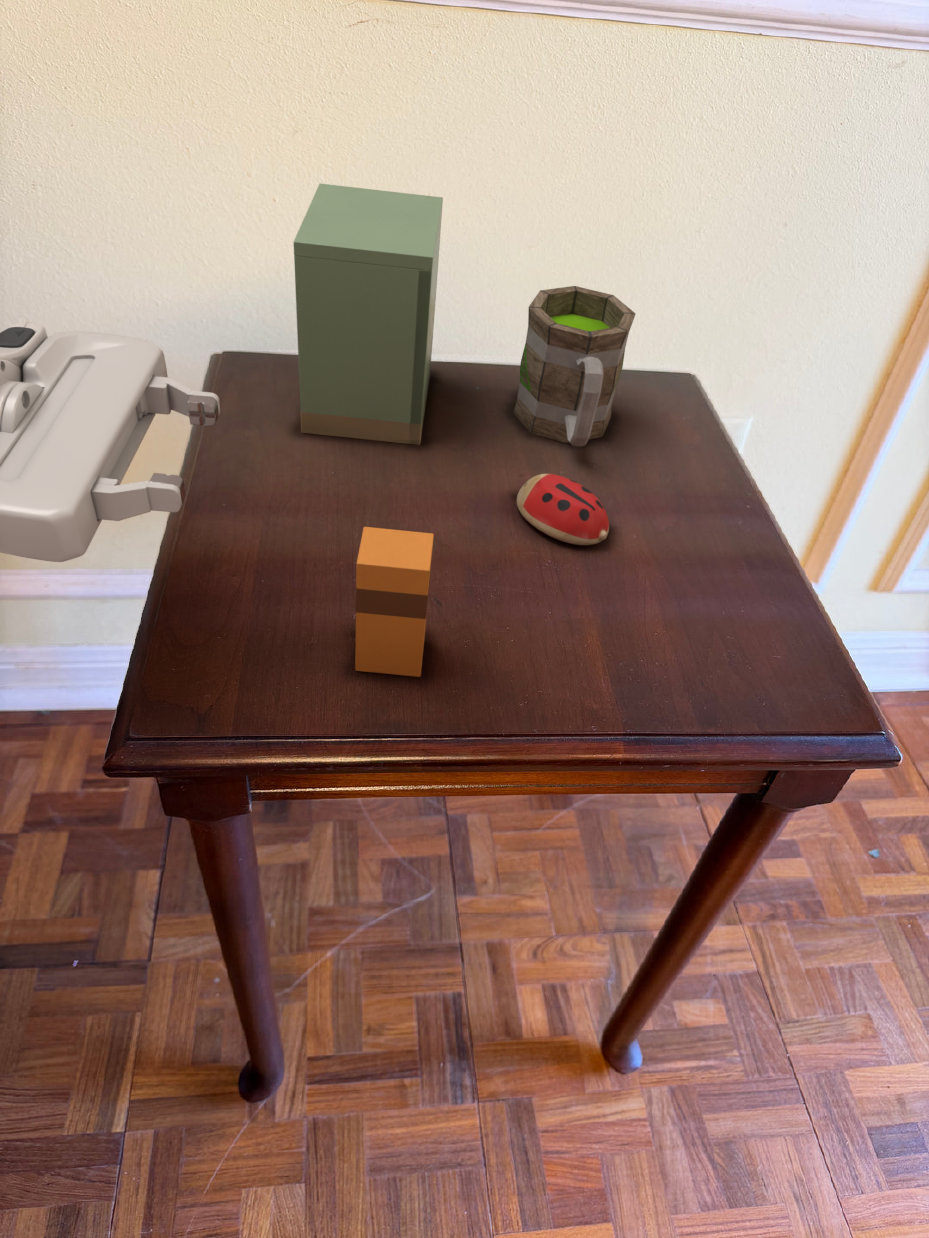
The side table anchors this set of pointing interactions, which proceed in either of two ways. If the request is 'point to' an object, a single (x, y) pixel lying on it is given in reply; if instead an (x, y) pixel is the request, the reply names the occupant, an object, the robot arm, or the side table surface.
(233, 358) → the side table surface
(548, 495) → the ladybug figurine
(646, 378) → the side table surface
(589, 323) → the mug
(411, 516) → the side table surface
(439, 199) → the cubby
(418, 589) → the granola carton
